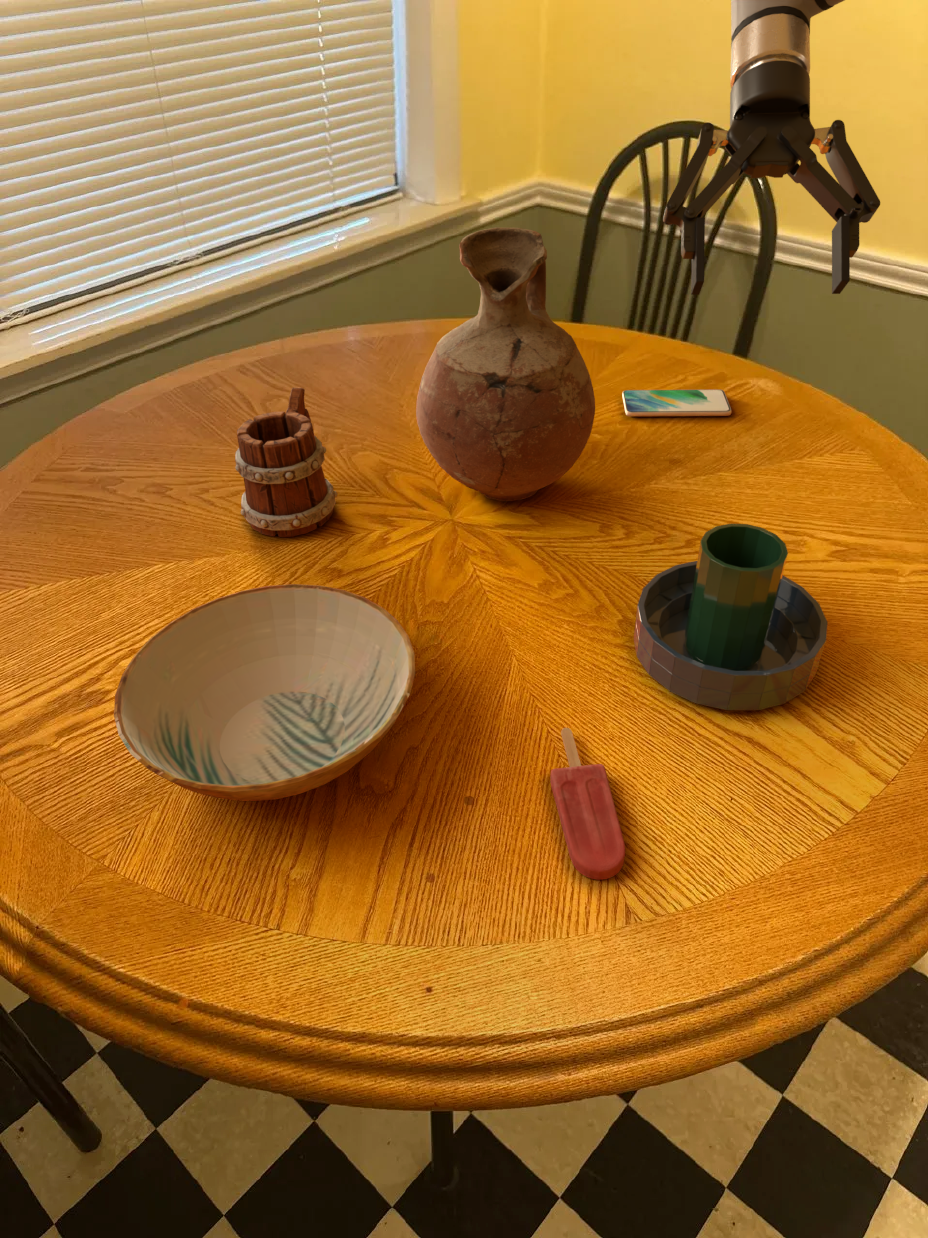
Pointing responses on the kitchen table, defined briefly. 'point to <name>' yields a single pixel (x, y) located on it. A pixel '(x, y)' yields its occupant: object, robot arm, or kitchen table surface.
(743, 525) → the green cup
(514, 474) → the jug
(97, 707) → the kitchen table surface
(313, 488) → the mug
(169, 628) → the bowl
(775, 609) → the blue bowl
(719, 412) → the smartphone
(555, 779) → the popsicle
